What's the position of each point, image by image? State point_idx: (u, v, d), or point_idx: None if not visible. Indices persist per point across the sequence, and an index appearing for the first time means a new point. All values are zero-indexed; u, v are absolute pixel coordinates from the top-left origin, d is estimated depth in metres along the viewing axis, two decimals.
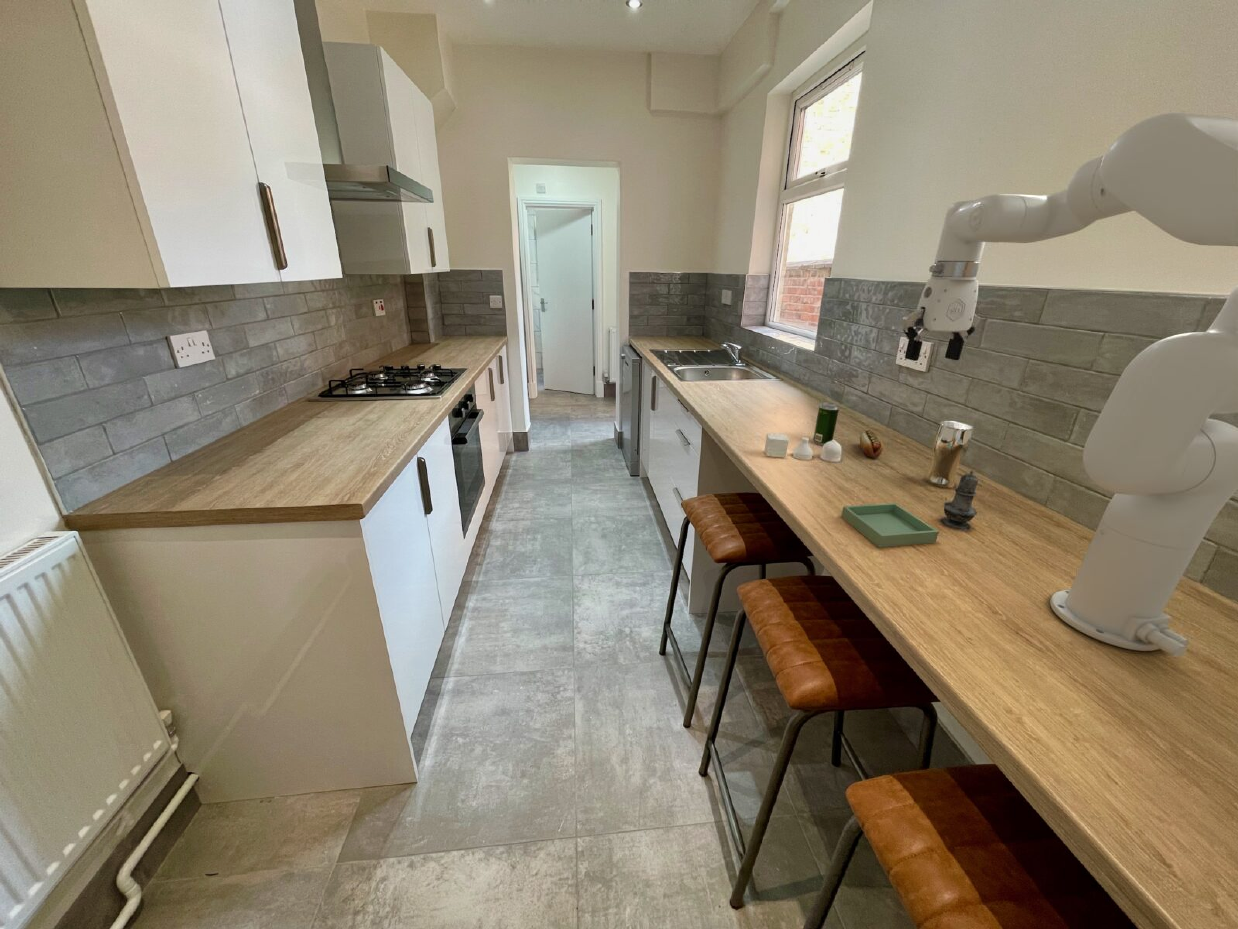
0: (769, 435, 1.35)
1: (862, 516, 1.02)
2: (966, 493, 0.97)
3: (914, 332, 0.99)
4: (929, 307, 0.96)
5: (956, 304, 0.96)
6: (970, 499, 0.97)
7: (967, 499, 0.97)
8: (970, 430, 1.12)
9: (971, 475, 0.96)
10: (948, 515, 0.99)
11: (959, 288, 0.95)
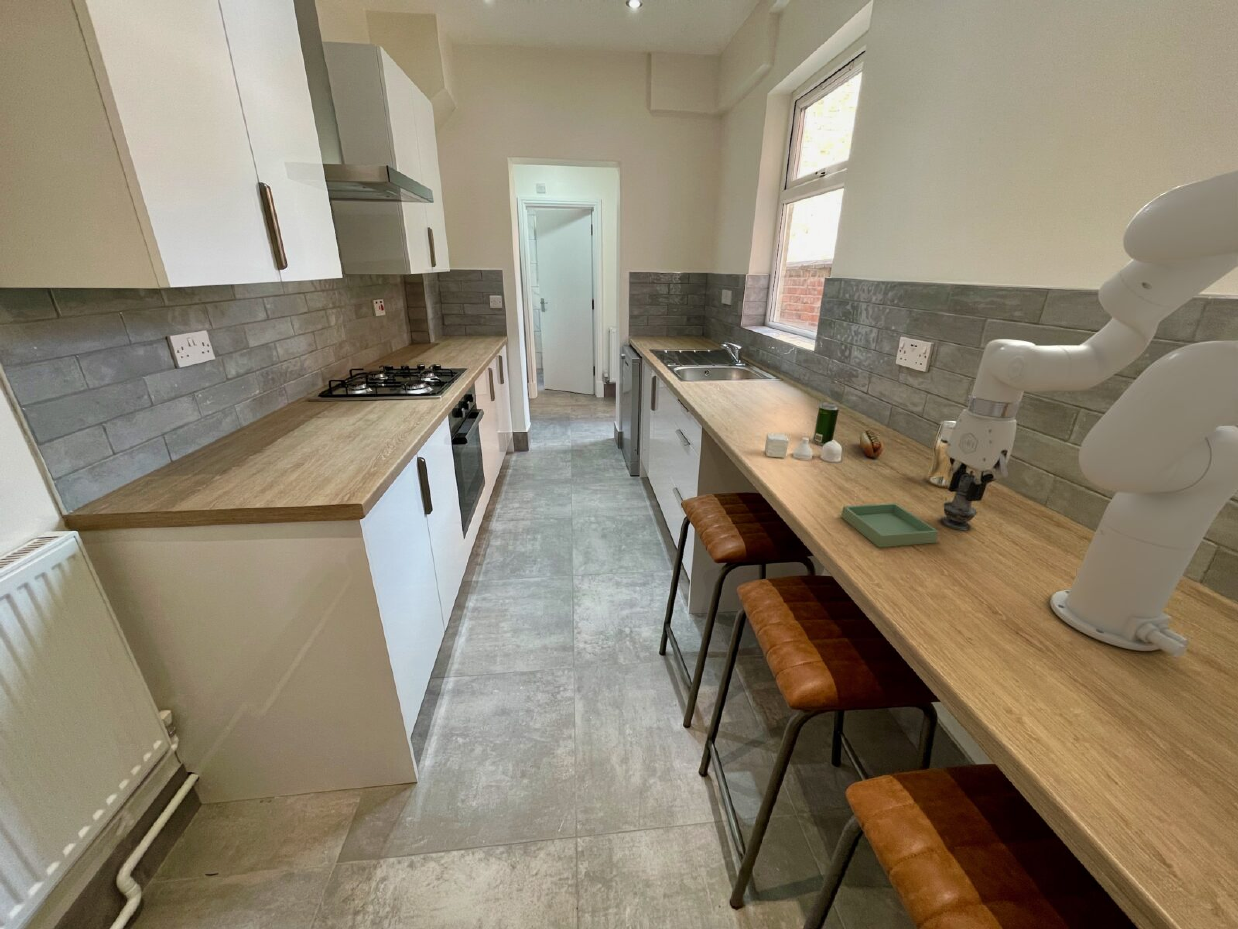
0: (769, 435, 1.35)
1: (862, 516, 1.02)
2: (966, 493, 0.97)
3: (954, 463, 0.99)
4: None
5: (969, 437, 0.93)
6: None
7: None
8: None
9: (971, 475, 0.96)
10: (948, 515, 0.99)
11: (972, 422, 0.93)
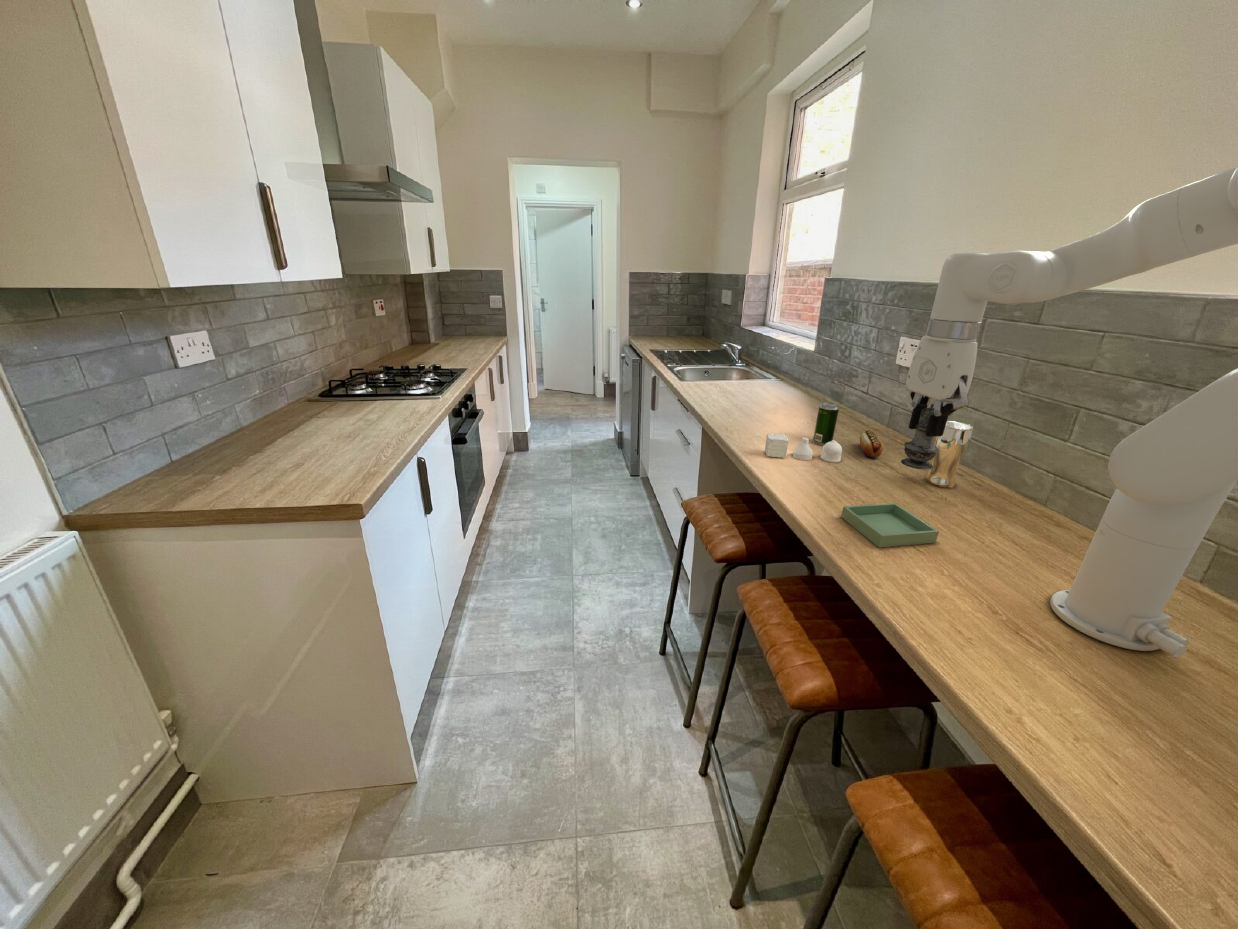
0: (769, 435, 1.35)
1: (862, 516, 1.02)
2: None
3: None
4: None
5: (928, 365, 0.86)
6: None
7: None
8: (970, 430, 1.12)
9: (931, 408, 0.89)
10: (908, 453, 0.92)
11: (931, 348, 0.85)
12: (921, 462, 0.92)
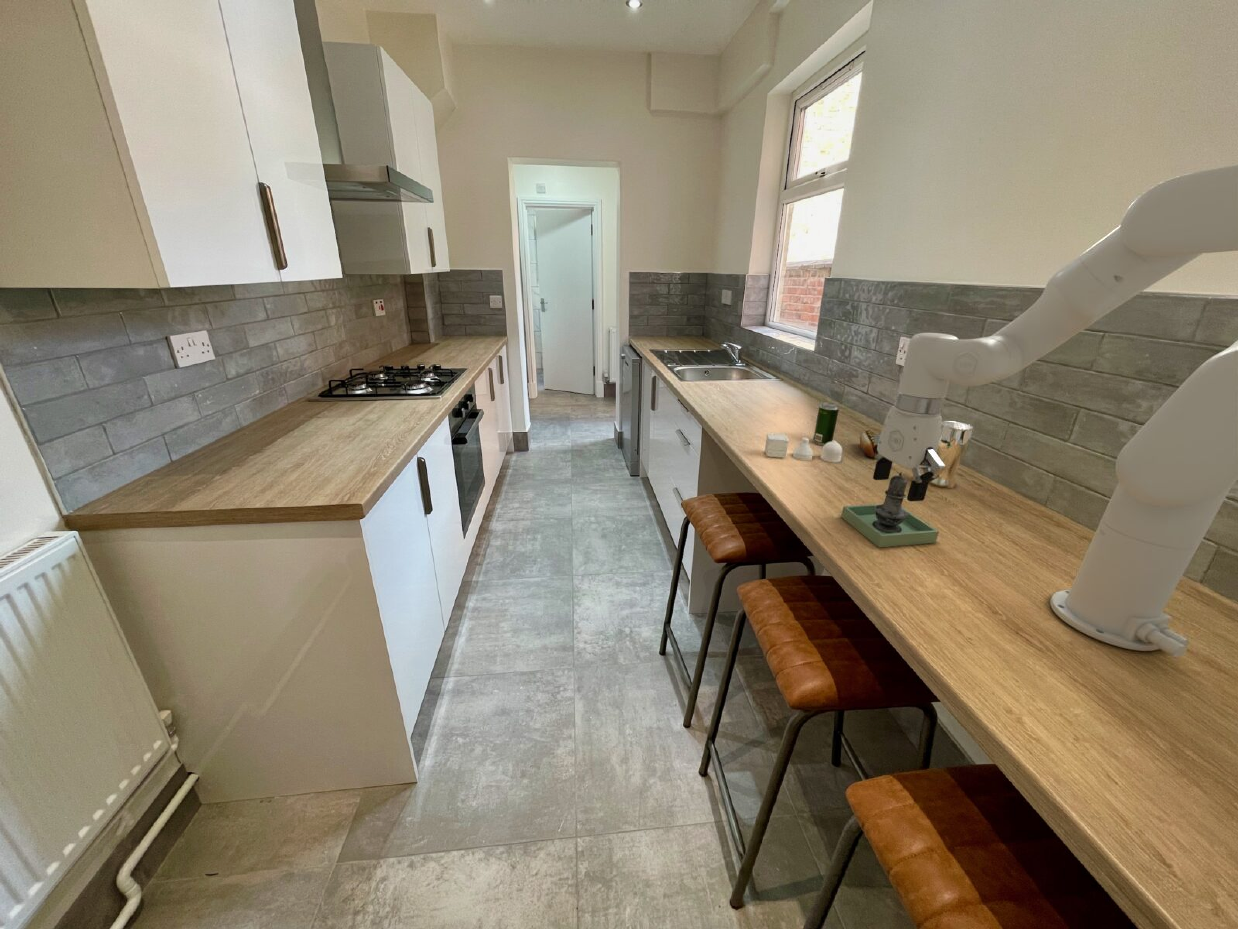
0: (769, 435, 1.35)
1: (862, 516, 1.02)
2: (895, 495, 0.94)
3: (878, 451, 0.98)
4: None
5: (897, 435, 0.90)
6: (899, 502, 0.94)
7: (896, 502, 0.94)
8: (970, 430, 1.12)
9: (900, 477, 0.93)
10: (879, 518, 0.96)
11: (899, 419, 0.89)
12: (891, 526, 0.97)
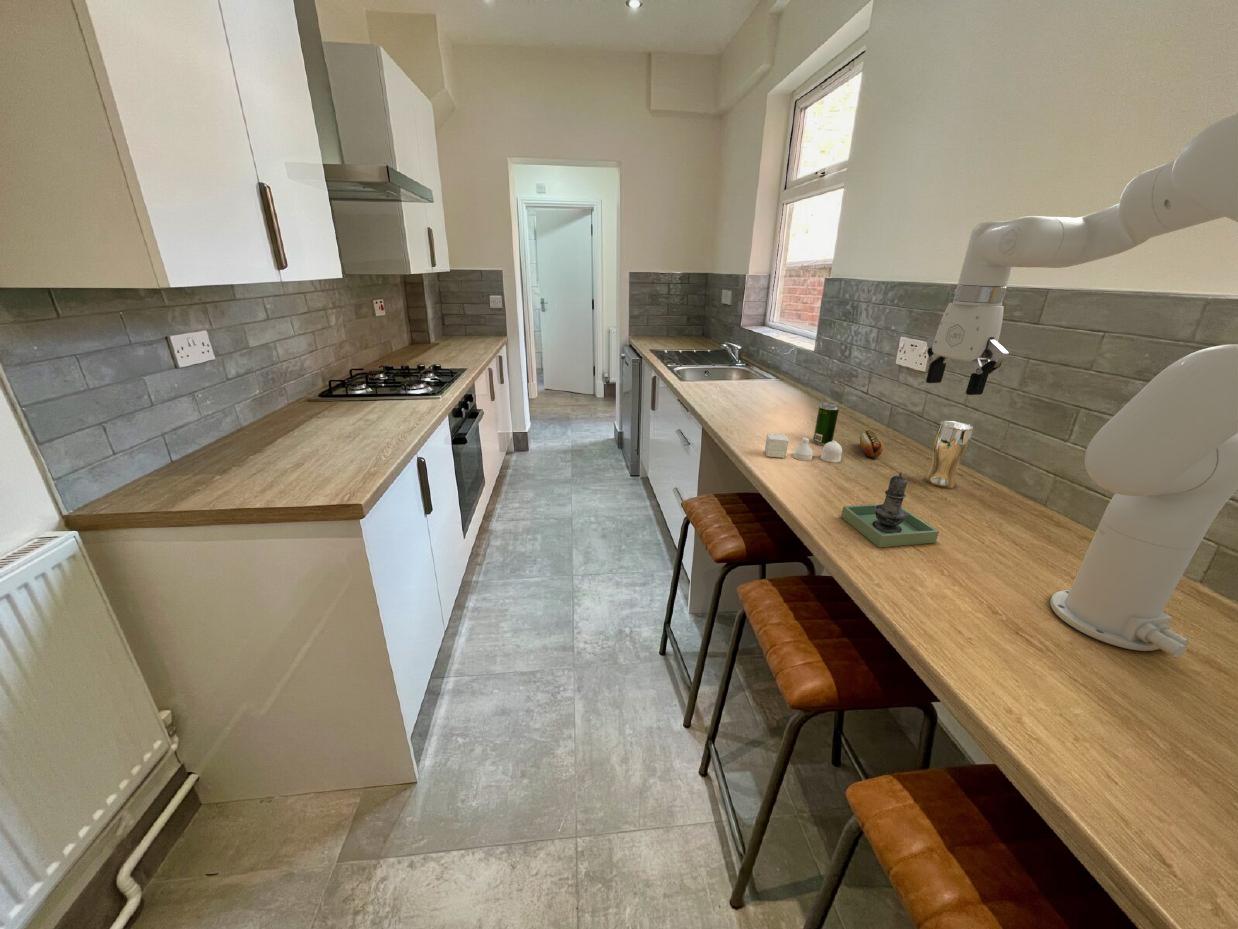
0: (769, 435, 1.35)
1: (862, 516, 1.02)
2: (895, 495, 0.94)
3: (931, 353, 0.99)
4: None
5: (956, 329, 0.91)
6: (899, 502, 0.94)
7: (896, 502, 0.94)
8: (970, 430, 1.12)
9: (900, 477, 0.93)
10: (879, 518, 0.96)
11: (959, 313, 0.90)
12: (891, 526, 0.97)
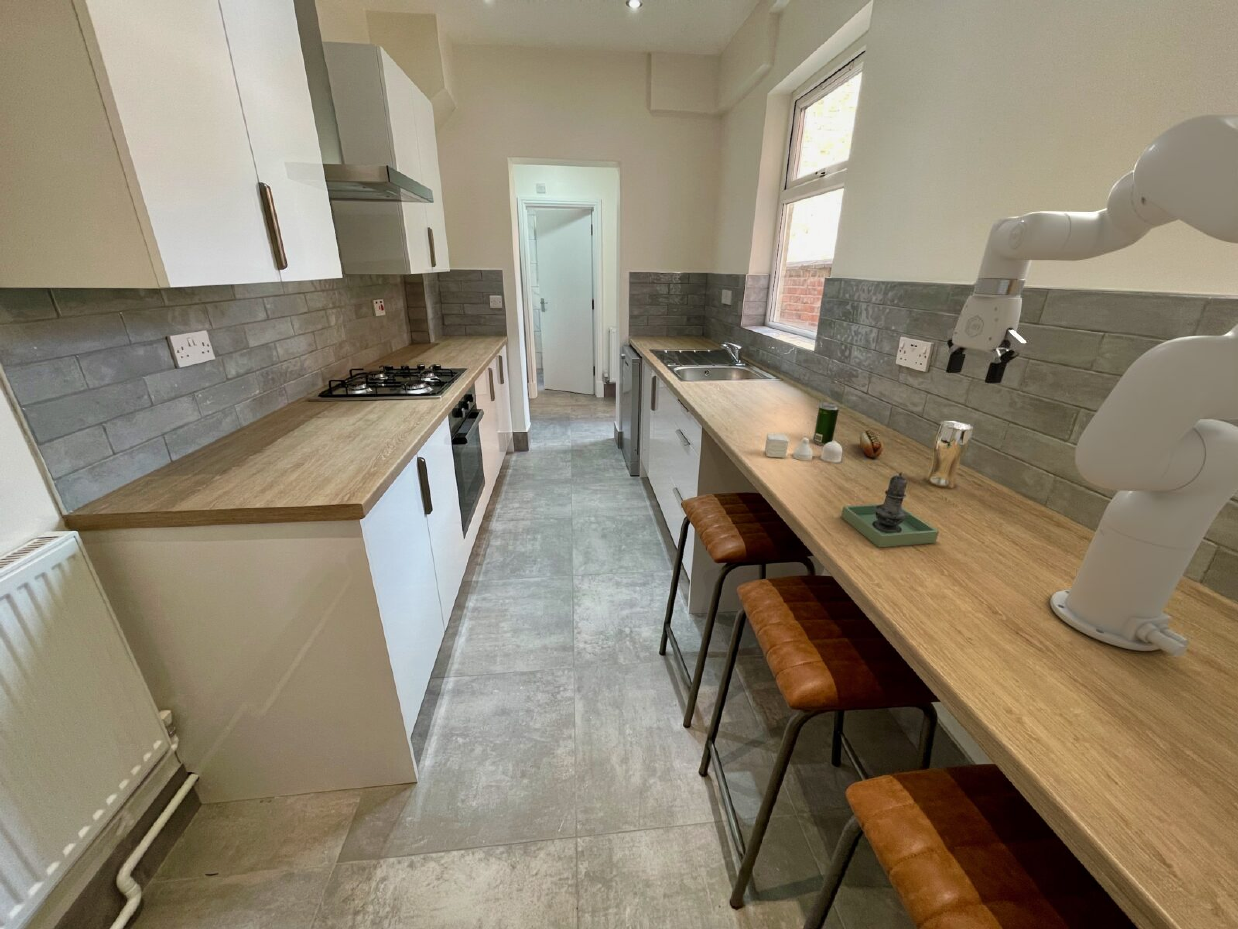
0: (769, 435, 1.35)
1: (862, 516, 1.02)
2: (895, 495, 0.94)
3: (951, 345, 1.03)
4: None
5: (975, 320, 0.95)
6: (899, 502, 0.94)
7: (896, 502, 0.94)
8: (970, 430, 1.12)
9: (900, 477, 0.93)
10: (879, 518, 0.96)
11: (978, 304, 0.95)
12: (891, 526, 0.97)
